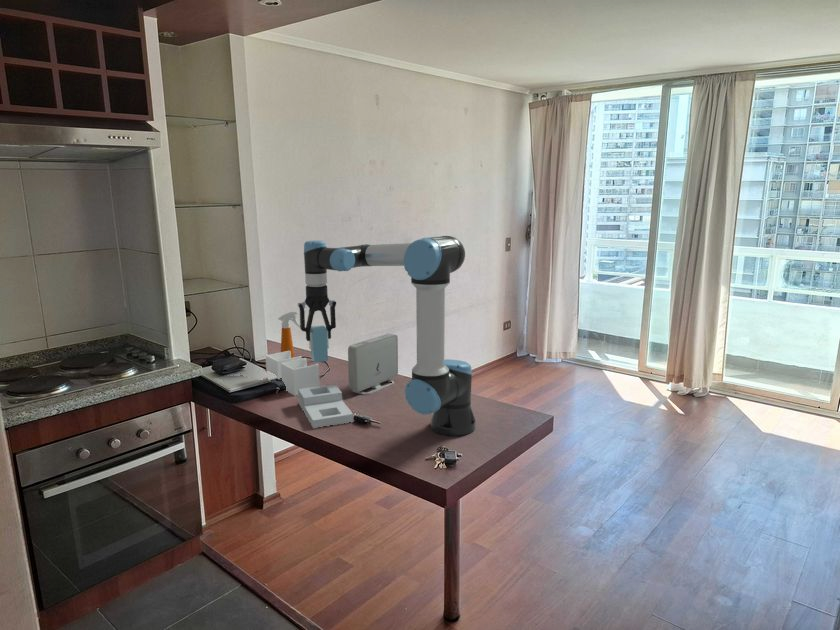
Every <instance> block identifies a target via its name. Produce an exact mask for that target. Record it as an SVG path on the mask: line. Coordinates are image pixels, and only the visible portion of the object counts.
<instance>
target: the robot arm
mask: <svg viewBox="0 0 840 630" xmlns="http://www.w3.org/2000/svg"><path fill="white" fill-rule="evenodd" d="M303 243H304V244H303V257H304V275H305V276H304V278H305V285H306V286H305V300H304V301H303V302H299V303H297V307H298V310H299V324H300V327H299V329H300V330H301V332H304V333H305V340H306V341H307V342H308V348H309V350H310V351H311V350H313V338H312V332H311V331H310V330H311V326H312V324H313V320H314V316H315V312H318V311H319V312H320V313H321V316H322V320H323V322H324V326H325V327H326V328H327V349H328V350H329V348H330V347H329V346H330V345H329V344H330V343H329V340H331V338H332V330H333V329H336V327H337V322H336V319H337V318H336V306H337V301H336V300H333V299H332V300H331V299H330V298H329V296H328V285H327V284H328V273H327V272H328V271H329V270H330V271H337V272H348V271H351V270H352V269H353V268H361V267H403V268H404V270H405V271H406V272H407V274H408V276H409V277H411V278H410V280H411V281H410V283H411V285H413V287H414V288H415V289H416V290H415V292H416V293H415V294H416V296H415V297H416V298H415V299H416V302H415V304H416V305H415V307H416V308H415V309H416V310H415V311H416V313H415V314H416V315H415V316H416V364H415V365H414V366H413V367H412V368H411V380H409V382H408V383H407V384H406V385H405V388H404V396H405V399H406V401H407V404H408V406H410V407H411V408H412V410H413V411H415V412H416V413H418V414H420V415H430V414H432V413H433V414H432V416H431V419H430V428H431V430H432V431H434V432H435V433H438V434H441V435H445V436H452V437H455V436H465V435H468V434H471V433H473V432H474V431H475V430H476V426H477V425H476V418H475V415H474V412H473V409H472V377H473V376H472V375H473V372H472V365H471V364H470V363H469V362H467V361H464V360H463V361H462V360H459V359H448V358H447V359H445V323H446V322H445V320H446V319H445V318H446V317H445V315H446V314H445V310H446V309H445V308H446V307H445V305H446V304H445V301H446V300H445V299H446V298H445V297H446V295H445V294H446V293H445V292H446V291H445V289H446V288H447V287H448V285H449V284H450V282H451V281H450V280H451V279H450V277H451V273H455V272H456V271H458V270H459V269H460V268H461V267H462V265H463V264H464V261H465V258H466V251H465V248H464V247H465V246H464V245H463V243H462V242H461V241H460V240H459V239H457V238H456V237H454V236H452V235H442V236H441V235H440V236H433V237H423V238H420V239H419V238H418V239H416V240H414V241H413V242H408V243H406V242H405V243H404V242H403V243H386V244H385V243H383V244H361V245H360V244H359V245H353V246H342V247H327V245H326V244H327V243H326V242H325V240H308V241H305V242H303ZM327 305H329V310H330V311H329V312H330V313H329V314H330V315H329V316H330V321H329V318H328V314H327V310H326V307H327ZM306 306H307V307H308V308H309V309H308V315H307V321H305V309H306Z"/></svg>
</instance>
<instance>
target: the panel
mask: <svg viewBox="0 0 840 630" xmlns="http://www.w3.org/2000/svg"><path fill="white" fill-rule="evenodd" d="M297 396H298V404H299V407H300V406H301V407H300V408H302V409H301V410H302V412H303V411H304V412H303V413H305V414H304V415H305V417H306V419H307V418H308V419H307V421H308V422H309V424H310V423H311V424H310V425H311V427H312V429H313V428H314V429H319V428H318V427H321V428H324V427H323V426H327V427H331V426H330V425H333V426H338V424H339V425H345V424H349V422H351V423H354V413H353V411H352V410H351V409H350V408H349V407H348V405H347V404H346V403H345V402H344V400H343V392H342V391H341V390H340V388H339V387H338V386H337V385H336V383H335V384H327V385H320V386H317V387H310V388H303V389H298V395H297ZM344 423H345V424H344Z"/></svg>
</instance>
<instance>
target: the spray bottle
mask: <svg viewBox="0 0 840 630" xmlns="http://www.w3.org/2000/svg"><path fill="white" fill-rule="evenodd" d="M298 314H299V312H298V310H293V311H289V312H286V313H285V314H282V315H281V316H279V317H278V320H279V321H281V322H282V323H281V334H280V335H281V337H280V352H285V351H291V358H295V352H294V345H293V338H292V332H291V324H290V321H292V323H294V324H295V325H296V326H297V327H298V328H300V322H299V321H298V319H297V315H298Z"/></svg>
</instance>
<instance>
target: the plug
mask: <svg viewBox="0 0 840 630" xmlns="http://www.w3.org/2000/svg"><path fill="white" fill-rule="evenodd" d="M310 331H311V332H312V338H313V350H310V359H311V360H312V362H313V363H319V362H327V361H329V356H328V355H329V354H328V351H329V348H328V349H327V328H326V326H325V324H324V325H313V326H312V325H311V330H310Z"/></svg>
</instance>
